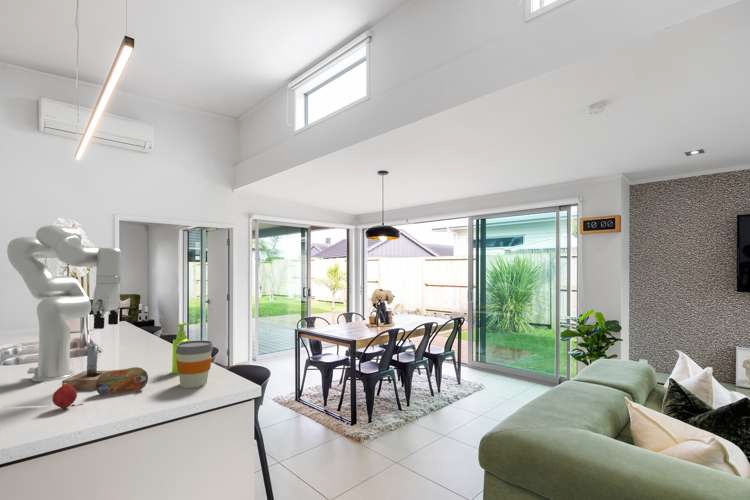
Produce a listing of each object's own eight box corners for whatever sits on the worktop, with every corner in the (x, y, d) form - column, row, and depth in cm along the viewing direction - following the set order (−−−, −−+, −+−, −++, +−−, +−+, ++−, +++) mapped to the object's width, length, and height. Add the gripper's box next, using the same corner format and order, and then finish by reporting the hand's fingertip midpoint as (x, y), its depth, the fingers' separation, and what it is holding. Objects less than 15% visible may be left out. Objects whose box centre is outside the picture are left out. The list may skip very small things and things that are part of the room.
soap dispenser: (193, 370, 160) (194, 322, 161) (179, 374, 154) (181, 324, 155) (182, 368, 162) (183, 321, 163) (168, 372, 156) (170, 324, 157)
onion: (61, 405, 119) (62, 379, 120) (80, 405, 120) (81, 379, 120) (47, 412, 113) (48, 385, 114) (67, 412, 114) (68, 385, 114)
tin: (95, 398, 125) (96, 373, 126) (95, 396, 128) (96, 371, 128) (147, 390, 134) (148, 366, 135) (146, 388, 137) (147, 364, 137)
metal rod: (84, 386, 136) (85, 347, 137) (89, 383, 139) (90, 345, 140) (93, 385, 137) (94, 346, 137) (98, 383, 140) (99, 345, 140)
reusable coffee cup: (219, 381, 145) (220, 342, 145) (191, 391, 133) (192, 348, 134) (196, 377, 150) (197, 339, 151) (167, 386, 139) (168, 345, 139)
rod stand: (61, 392, 131) (62, 380, 132) (83, 381, 143) (84, 371, 144) (99, 391, 133) (99, 379, 133) (117, 380, 145) (118, 370, 145)
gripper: (109, 279, 150) (107, 322, 149) (83, 281, 133) (81, 330, 132) (130, 279, 151) (128, 322, 151) (106, 281, 134) (104, 330, 134)
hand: (106, 326), depth 141 cm, fingers open, 9 cm apart
